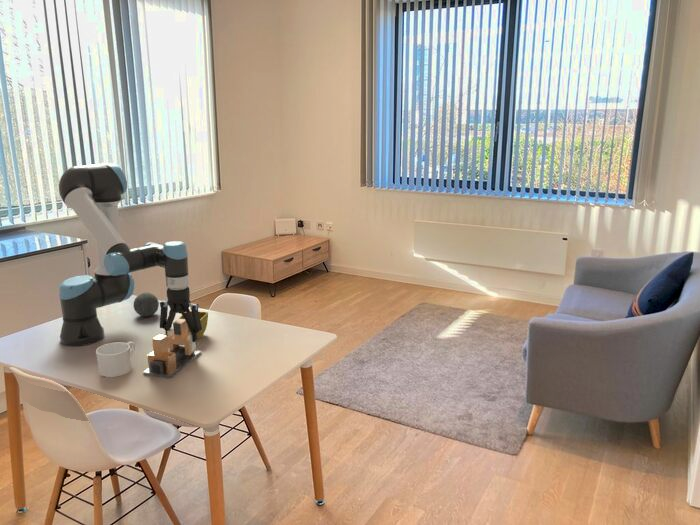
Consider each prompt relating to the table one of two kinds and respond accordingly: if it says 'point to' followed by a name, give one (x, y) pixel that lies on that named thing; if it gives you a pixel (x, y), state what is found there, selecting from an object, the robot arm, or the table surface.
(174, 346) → the tan wooden arch block
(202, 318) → the flower pot
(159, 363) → the rail base
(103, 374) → the mug
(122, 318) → the table surface
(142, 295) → the decorative ball
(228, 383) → the table surface
